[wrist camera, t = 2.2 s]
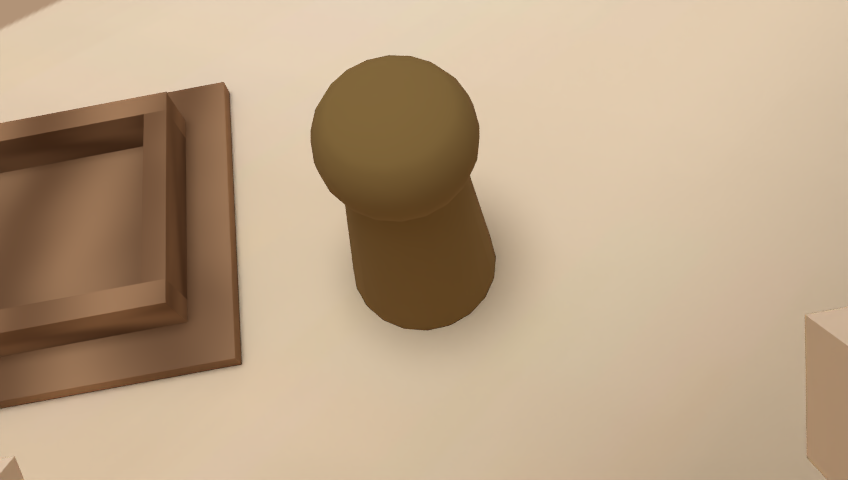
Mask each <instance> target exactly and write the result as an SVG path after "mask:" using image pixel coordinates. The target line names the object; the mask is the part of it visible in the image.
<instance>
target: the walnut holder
mask: <svg viewBox="0 0 848 480" xmlns="http://www.w3.org/2000/svg"><path fill="white" fill-rule="evenodd" d="M239 364H241V343H240V321H239V298H238V276H237V254H236V232H235V209H234V187H233V165H232V142H231V120H230V98H229V91H228V89H227V87H226V85H225V83H224V82H221V83H216V84H211V85H205V86H200V87H195V88H189V89H184V90H179V91H174V92H168V93H167V92H163V93H158V94H152V95H147V96H142V97H137V98H131V99H126V100H121V101H115V102H110V103H105V104H100V105H94V106H89V107H84V108H79V109H73V110H68V111H63V112H57V113H52V114H47V115H42V116H36V117H31V118H26V119H21V120H15V121H10V122H5V123H0V408H5V407H10V406H16V405H21V404H27V403H32V402H38V401H43V400H49V399H54V398H59V397H65V396H70V395H76V394H81V393H87V392H92V391H98V390H103V389H108V388H114V387H119V386H125V385H130V384H136V383H141V382H147V381H152V380H157V379H163V378H168V377H174V376H179V375H185V374H190V373H196V372H201V371H206V370H212V369H217V368H223V367H228V366H234V365H239Z"/></svg>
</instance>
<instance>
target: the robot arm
mask: <svg viewBox="0 0 848 480" xmlns="http://www.w3.org/2000/svg"><path fill="white" fill-rule="evenodd" d="M805 358H806V430H807V458H808V460H809V461H810V462H811V463H812V464H813V465H814V466H815V467H816V468H817V469H818V470H819V471H820V472H821V473H822V474H823V476H824V477H825V478H826V479H827V480H848V307H844V308H838V309H833V310H827V311H822V312H816V313H810V314H805ZM0 480H24V478H23V476H22V473H21V471H20V469H19V466H18V464H17V461H16V459H15V456H13V457H7V458H2V459H0Z"/></svg>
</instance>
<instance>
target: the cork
mask: <svg viewBox="0 0 848 480" xmlns="http://www.w3.org/2000/svg"><path fill="white" fill-rule="evenodd" d="M311 146H312V152H313V159H314V163H315V166H316V168H317V170H318V172H319V174H320V176H321V177H322V179H323V181H324V182H325V184H326V186H327V187H328V189H329V191H330V192H331V193H332V194H333V195H334V196H336V197H337V198H338V199H339V200H340V201H342V202H343V203H344V204H345V207H346V215H347V223H348V230H349V238H350V246H351V253H352V261H353V269H354V274H355V280H356V286H357V289H358V291H359V293H360V294H361V296H362V298H363V300H364V301H365V303H366V305H367V306H368V307H369V308H370V309H371V310H372V311H374V312H375V313H376V314H377V315H378V316H379V317H381V318H382V319H383V320H385V321H387V322H390V323H392V324H395V325H397V326H399V327H402V328H406V329H418V330H430V329H435V328H439V327H444V326H448V325H451V324H453V323H455V322H456V321H458V320H460V319H462V318H463V317H465V316H467V315H469V314H470V313H471V312H472V311H473V310H474V309H475V308H476V307H477V306H478V304H479V303H480V302H481V301H482V300H483V299H484V298H485V297H486V294H487V292H488V290H489V288H490V285H491V283H492V281H493V279H494V272H495V260H496V256H495V252H494V249H493V245H492V241H491V238H490V235H489V232H488V229H487V226H486V223H485V220H484V217H483V214H482V211H481V208H480V205H479V202H478V199H477V196H476V193H475V190H474V187H473V184H472V181H471V178H470V174H471V172H472V170H473V168H474V165H475V163H476V161H477V156H478V146H479V123H478V120H477V116H476V113H475V109H474V106H473V103H472V101H471V99H470V97H469V95H468V94H467V93H466V91H465V90H464V89H463V87H462V86H461V85H460V83H459V82H458V81H457V79H456V78H454V77H453V76H451V75H450V74H448V73H447V72H445V71H444V70H442V69H441V68H439V67H438V66H436V65H435V64H433V63H431V62H429V61H425V60H422V59H419V58H415V57H412V56H392V55H388V56H383V57H379V58H374V59H370V60H366V61H364V62H362V63H360V64H358V65H356V66H354V67H352V68H350V69H348V70H346V71H345V72H344V73H343V74H342V75H341V76H340V77H339V78H337V79H336V80H335V81H334V82H333V83H332V84H331V85H330V87H329V88H328V90H327V91H326V93H325V95H324V96H323V98H322V99H321V101H320V103H319V104H318V106H317V108H316V109H315V113H314V118H313V122H312V127H311Z"/></svg>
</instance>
